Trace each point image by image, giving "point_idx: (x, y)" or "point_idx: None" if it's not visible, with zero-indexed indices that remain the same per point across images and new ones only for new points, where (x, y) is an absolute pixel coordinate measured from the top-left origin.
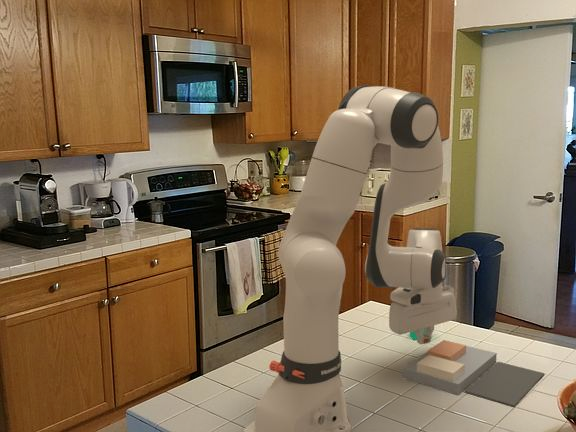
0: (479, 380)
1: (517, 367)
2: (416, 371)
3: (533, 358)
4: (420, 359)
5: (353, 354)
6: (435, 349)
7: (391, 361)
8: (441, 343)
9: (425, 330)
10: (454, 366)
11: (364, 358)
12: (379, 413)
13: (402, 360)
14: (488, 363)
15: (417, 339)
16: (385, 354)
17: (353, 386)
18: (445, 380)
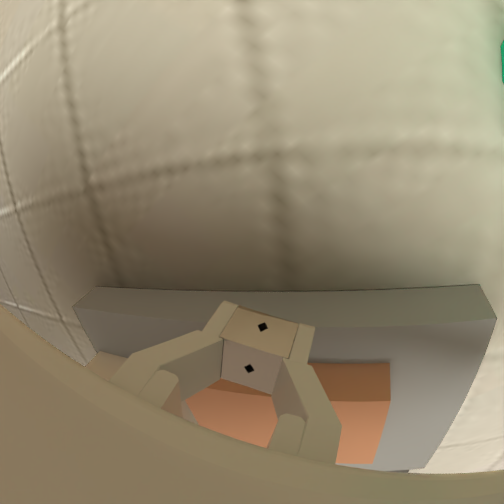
0: None
1: (402, 471)
2: (98, 350)
3: (483, 458)
4: (161, 334)
5: (81, 7)
6: (221, 405)
7: (138, 162)
8: None
9: (296, 391)
10: None
11: (81, 63)
12: (23, 315)
13: (186, 192)
14: None
15: (212, 315)
16: (174, 72)
17: (4, 215)
18: None
